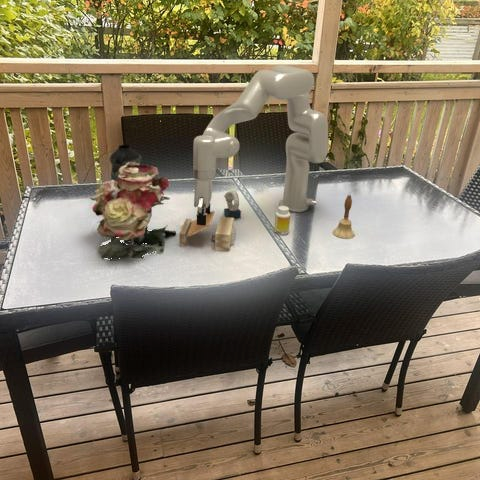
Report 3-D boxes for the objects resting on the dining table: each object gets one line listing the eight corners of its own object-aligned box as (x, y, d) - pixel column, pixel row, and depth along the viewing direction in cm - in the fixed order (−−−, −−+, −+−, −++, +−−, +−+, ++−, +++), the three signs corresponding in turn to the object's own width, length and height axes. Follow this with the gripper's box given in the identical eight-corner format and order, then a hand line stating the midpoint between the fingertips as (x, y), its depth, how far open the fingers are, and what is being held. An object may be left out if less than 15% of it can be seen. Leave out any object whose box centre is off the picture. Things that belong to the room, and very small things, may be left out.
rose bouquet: (101, 226, 171) (92, 149, 157) (179, 230, 172) (177, 153, 157) (80, 262, 149) (67, 176, 134) (169, 266, 149) (165, 180, 135)
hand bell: (341, 240, 170) (348, 201, 162) (328, 231, 176) (334, 193, 169) (358, 236, 173) (366, 198, 166) (345, 227, 180) (351, 190, 172)
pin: (235, 239, 167) (235, 227, 165) (233, 244, 163) (234, 233, 161) (213, 237, 167) (213, 225, 165) (211, 243, 164) (211, 231, 161)
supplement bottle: (291, 234, 173) (293, 209, 168) (278, 236, 170) (280, 212, 165) (283, 227, 177) (286, 203, 172) (271, 230, 175) (273, 206, 170)
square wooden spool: (233, 233, 171) (233, 217, 168) (229, 251, 159) (229, 234, 156) (186, 229, 172) (186, 214, 169) (179, 247, 160) (178, 230, 157)
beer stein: (146, 194, 199) (143, 138, 187) (153, 213, 183) (150, 153, 171) (107, 198, 194) (102, 140, 182) (111, 217, 178) (105, 156, 166)
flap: (214, 212, 166) (213, 209, 166) (210, 226, 156) (208, 223, 156) (193, 223, 169) (191, 221, 169) (187, 238, 159) (185, 235, 159)
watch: (234, 211, 188) (235, 187, 183) (242, 220, 181) (243, 194, 176) (221, 213, 186) (222, 188, 180) (229, 222, 179) (230, 196, 174)
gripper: (197, 164, 161) (197, 208, 169) (188, 181, 146) (188, 228, 154) (218, 165, 161) (217, 209, 169) (211, 183, 145) (210, 230, 153)
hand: (203, 218), depth 161 cm, fingers open, 9 cm apart
